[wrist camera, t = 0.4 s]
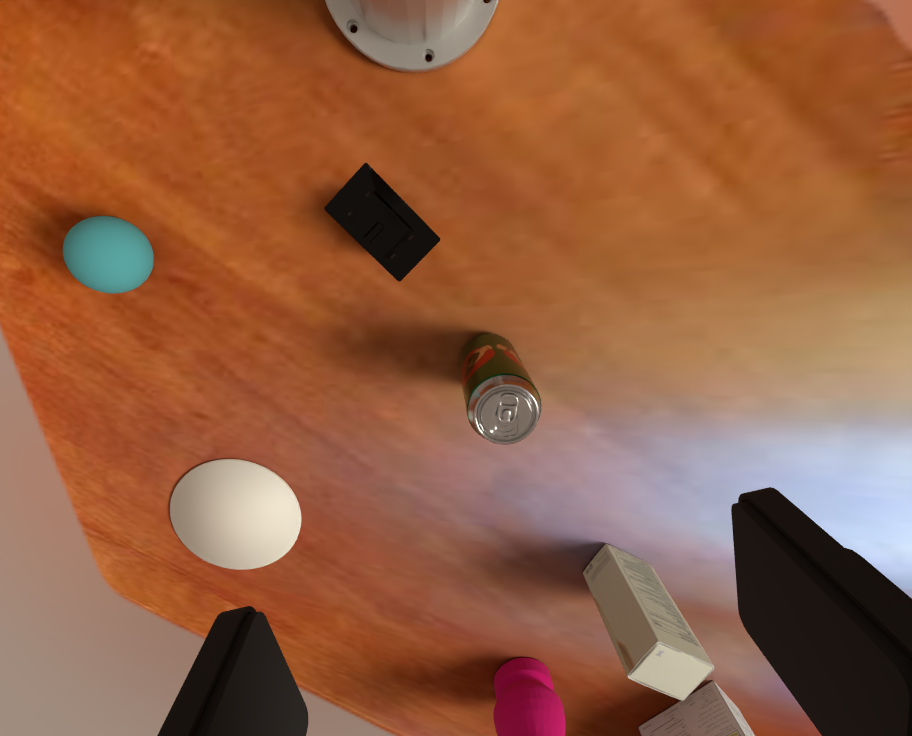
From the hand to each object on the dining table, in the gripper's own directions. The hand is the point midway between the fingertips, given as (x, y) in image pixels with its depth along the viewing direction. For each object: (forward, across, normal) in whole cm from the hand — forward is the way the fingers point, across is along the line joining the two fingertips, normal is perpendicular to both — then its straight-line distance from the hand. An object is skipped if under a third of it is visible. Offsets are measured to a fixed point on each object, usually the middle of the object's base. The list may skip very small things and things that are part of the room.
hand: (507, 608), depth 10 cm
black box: (+36, +4, -6) cm, 37 cm away
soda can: (+35, -2, +7) cm, 36 cm away
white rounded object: (+35, +24, +16) cm, 46 cm away
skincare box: (+35, -10, +32) cm, 49 cm away
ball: (+32, +24, -9) cm, 41 cm away
